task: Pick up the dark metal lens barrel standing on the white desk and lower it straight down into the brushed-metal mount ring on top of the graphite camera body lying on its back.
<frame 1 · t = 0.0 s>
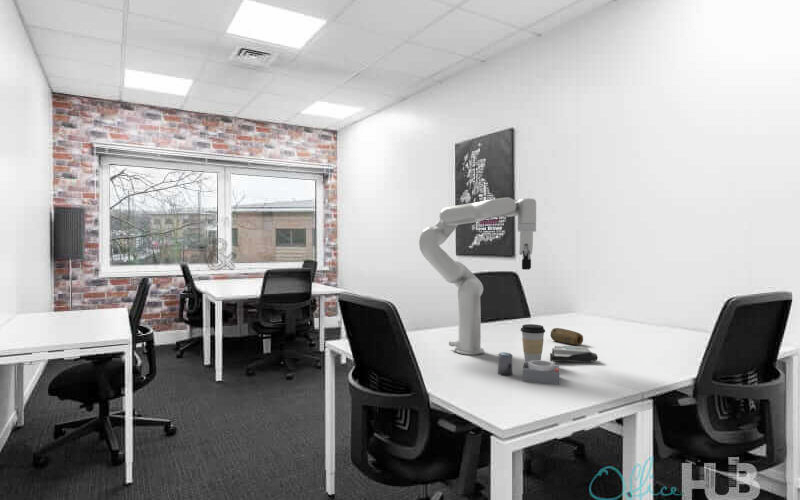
hand: (526, 268, 199), 37 cm above the table, tool pointing down, fingers open, 9 cm apart
camcorder: (571, 360, 194), on the table
coffee cup: (532, 364, 187), on the table
brown wooden cylinder: (566, 343, 226), on the table
camera body: (540, 379, 165), on the table
lens: (505, 374, 172), on the table
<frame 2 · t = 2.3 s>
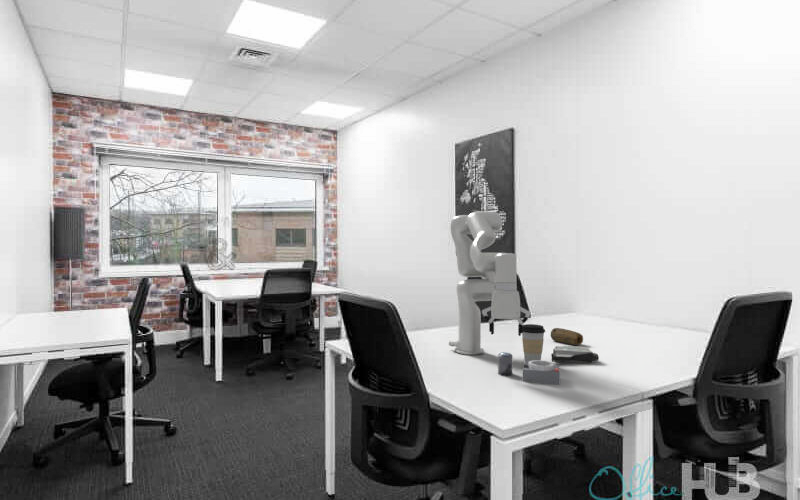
hand: (505, 334, 171), 14 cm above the table, tool pointing down, fingers open, 9 cm apart
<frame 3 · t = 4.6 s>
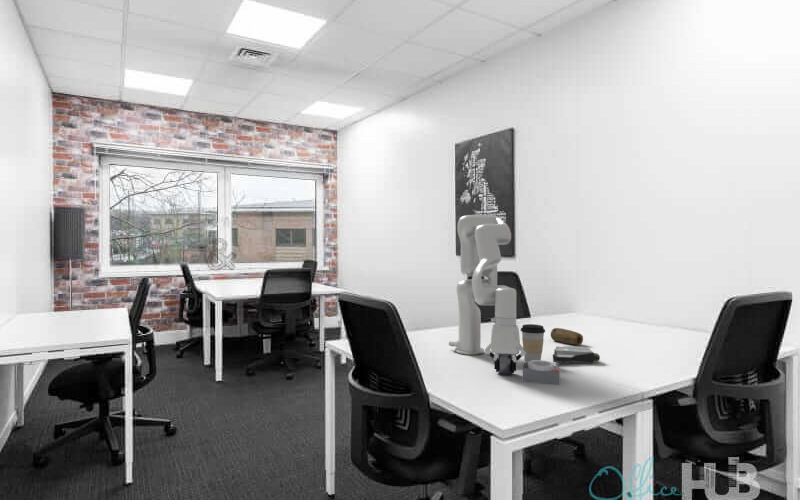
hand: (505, 371, 172), 1 cm above the table, tool pointing down, fingers closed on lens, 5 cm apart
lens: (505, 373, 172), on the table, touching gripper
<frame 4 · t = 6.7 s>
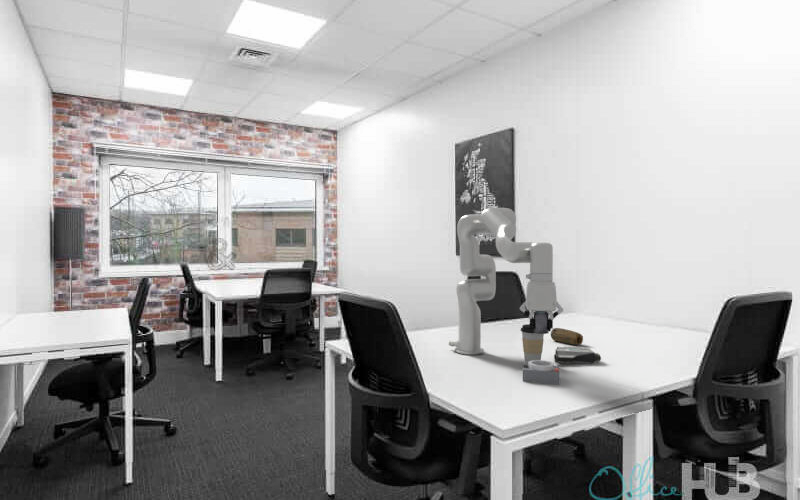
hand: (541, 329, 165), 17 cm above the table, tool pointing down, fingers closed on lens, 5 cm apart
lens: (541, 332, 165), point 16 cm above the table, touching gripper
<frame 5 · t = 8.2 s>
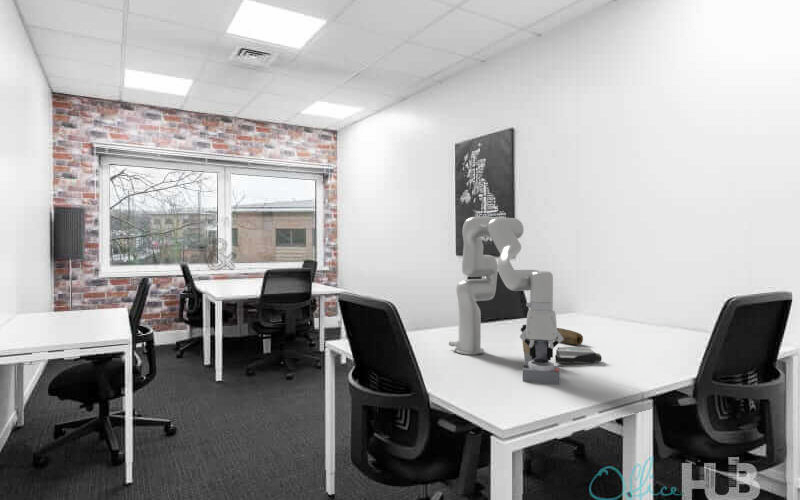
hand: (541, 358, 165), 7 cm above the table, tool pointing down, fingers closed on lens, 5 cm apart
lens: (541, 361, 165), point 6 cm above the table, touching gripper
when the fingers open (7 cm above the table, at t = 9.1 s): lens drops 2 cm, resting on camera body.
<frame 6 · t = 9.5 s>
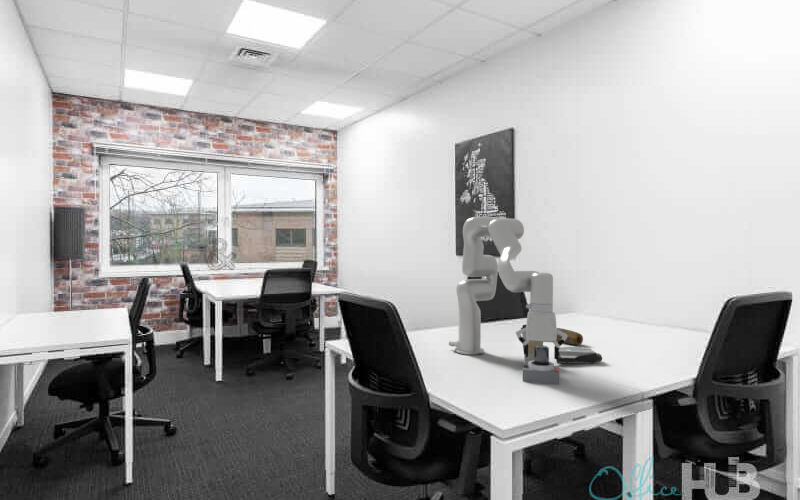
hand: (541, 357, 165), 8 cm above the table, tool pointing down, fingers open, 9 cm apart
lens: (541, 367, 165), point 4 cm above the table, touching camera body
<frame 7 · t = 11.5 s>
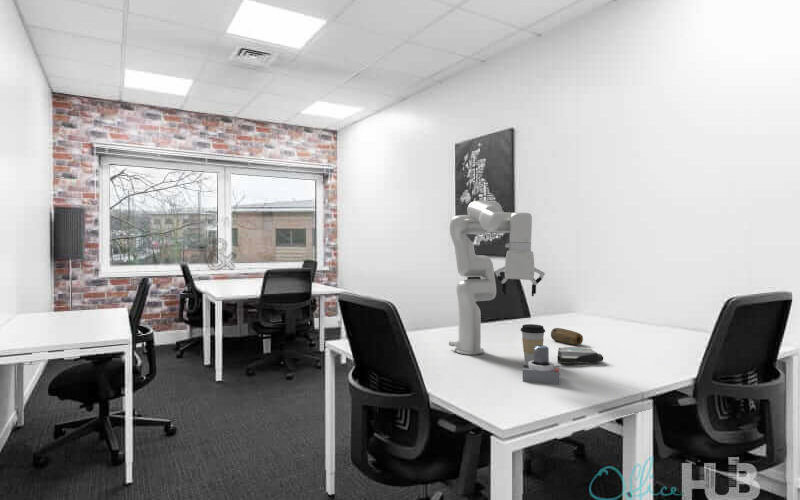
hand: (518, 294, 170), 29 cm above the table, tool pointing down, fingers open, 9 cm apart
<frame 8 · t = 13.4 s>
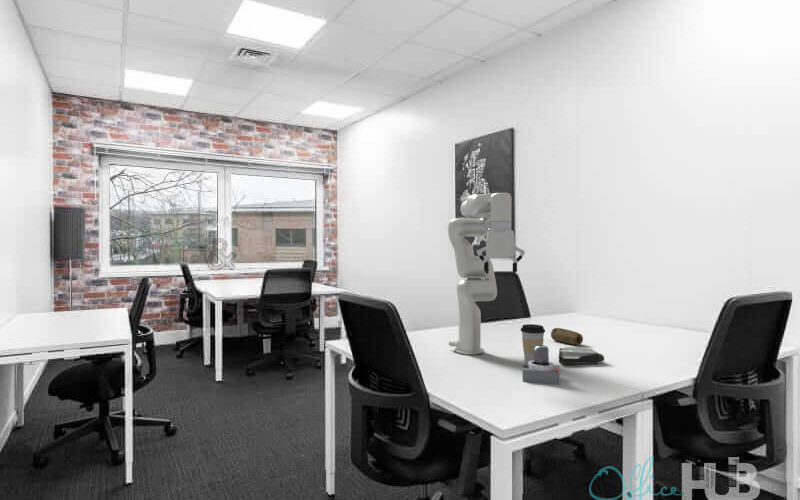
hand: (500, 273, 173), 36 cm above the table, tool pointing down, fingers open, 9 cm apart
at the end: lens 0.1 cm off-centre on the camera body, point 4.1 cm above the camera body's base; lens tilted 2°; the gripper is holding nothing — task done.
